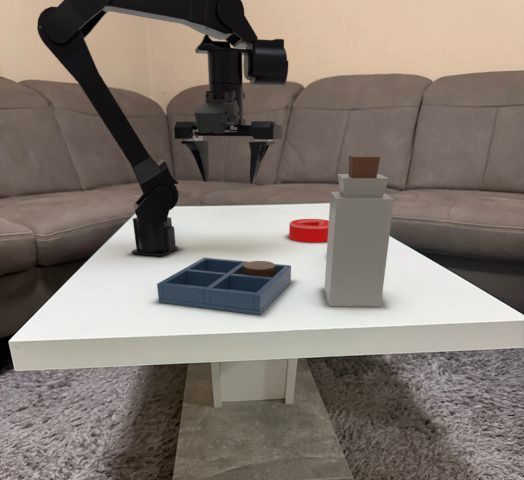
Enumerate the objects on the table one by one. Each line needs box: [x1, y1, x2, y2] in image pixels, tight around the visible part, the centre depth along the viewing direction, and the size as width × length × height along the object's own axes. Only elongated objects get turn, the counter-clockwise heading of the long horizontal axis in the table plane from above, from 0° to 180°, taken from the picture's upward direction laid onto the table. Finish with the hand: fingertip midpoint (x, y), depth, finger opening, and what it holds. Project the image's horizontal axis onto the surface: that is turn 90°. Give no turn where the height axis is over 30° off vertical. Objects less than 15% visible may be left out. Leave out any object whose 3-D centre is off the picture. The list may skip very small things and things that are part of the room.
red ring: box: [288, 218, 329, 243], centre depth 97 cm, size 10×10×3 cm
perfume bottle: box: [324, 155, 395, 308], centre depth 59 cm, size 7×7×18 cm
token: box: [243, 260, 276, 278], centre depth 66 cm, size 5×5×2 cm
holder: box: [156, 257, 292, 316], centre depth 65 cm, size 14×14×3 cm
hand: (228, 182), depth 84 cm, fingers open, 9 cm apart
